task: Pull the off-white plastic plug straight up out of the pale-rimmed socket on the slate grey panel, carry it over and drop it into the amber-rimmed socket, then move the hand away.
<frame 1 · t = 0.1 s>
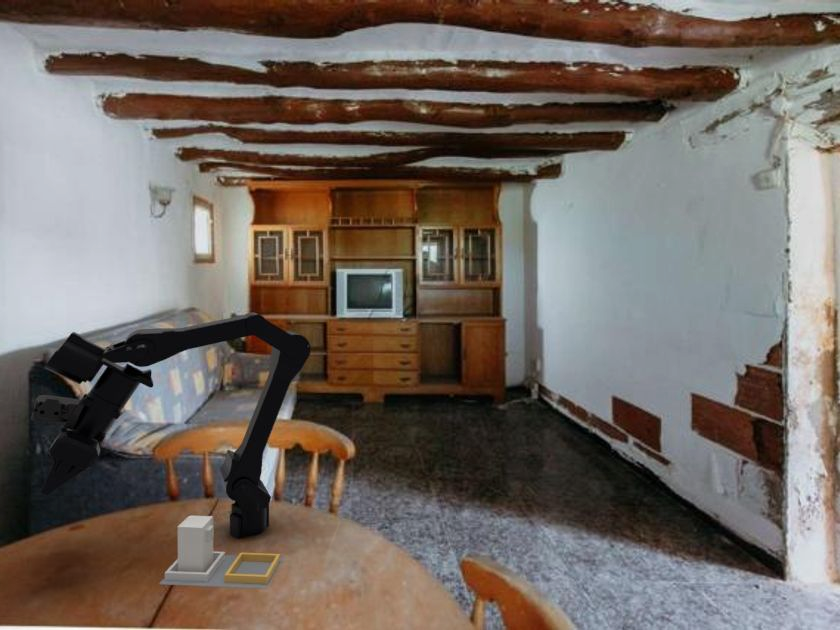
hand: (48, 483, 84), 15 cm above the table, tool tilted 35°, fingers open, 9 cm apart
plug: (196, 569, 86), point 1 cm above the table, touching socket panel
socket panel: (224, 573, 86), on the table
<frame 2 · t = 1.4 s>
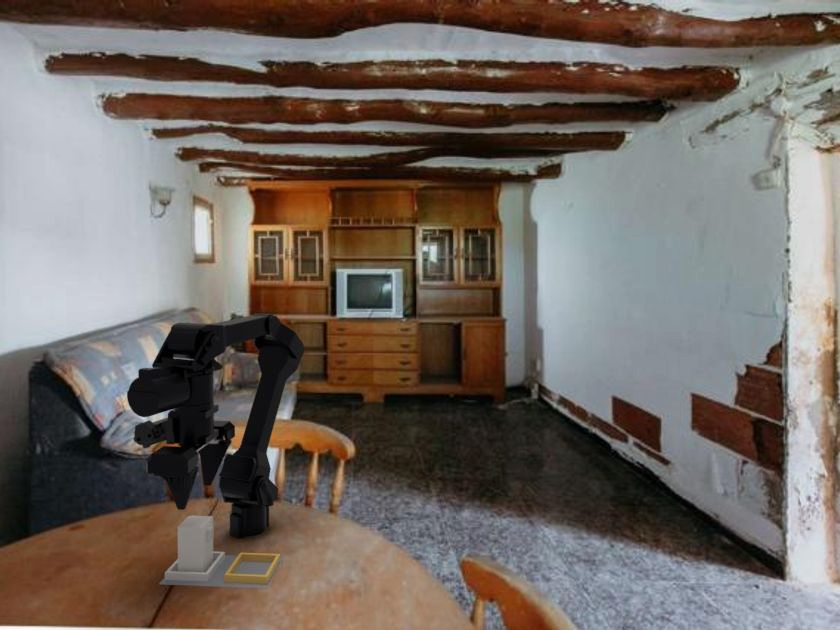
hand: (195, 496, 85), 13 cm above the table, tool pointing down, fingers open, 9 cm apart
nothing on the table moved.
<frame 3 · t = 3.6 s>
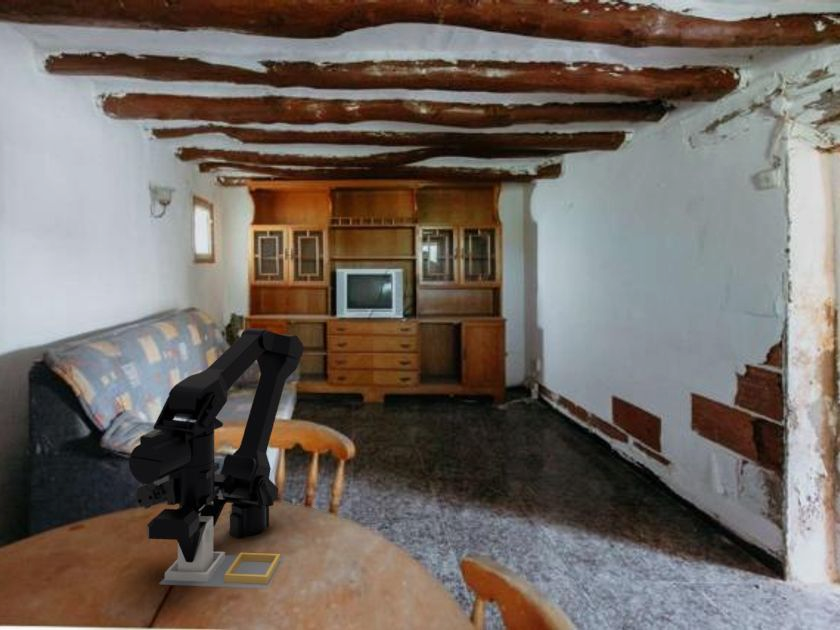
hand: (196, 554, 86), 3 cm above the table, tool pointing down, fingers closed on plug, 4 cm apart
plug: (196, 568, 86), point 1 cm above the table, touching gripper, socket panel
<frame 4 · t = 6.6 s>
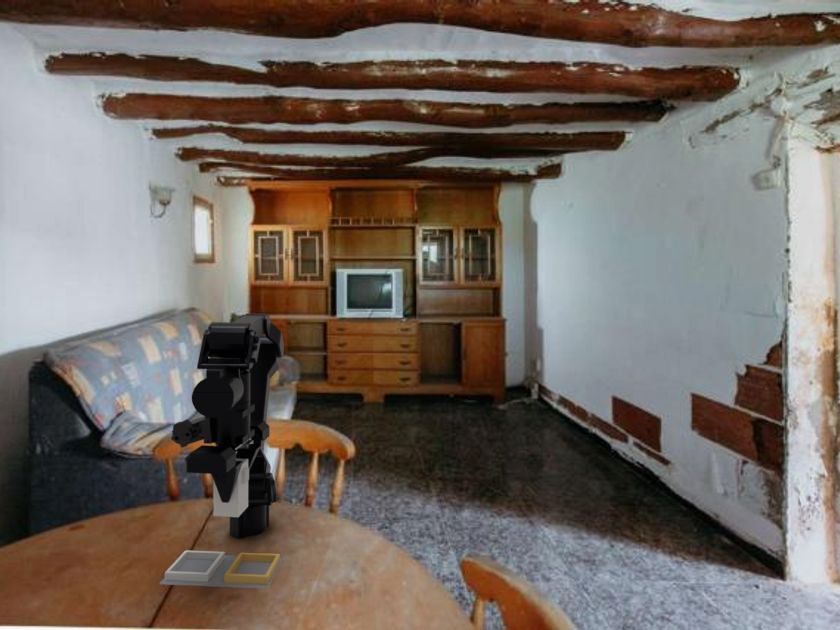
hand: (231, 496, 85), 13 cm above the table, tool pointing down, fingers closed on plug, 4 cm apart
plug: (231, 511, 85), point 11 cm above the table, touching gripper
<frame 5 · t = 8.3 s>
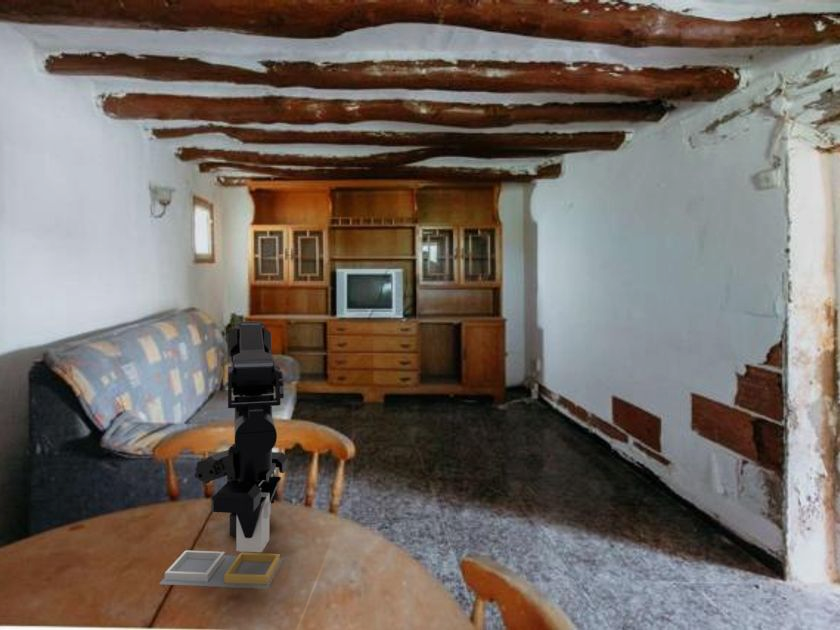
hand: (253, 531, 85), 7 cm above the table, tool pointing down, fingers closed on plug, 4 cm apart
plug: (253, 545, 85), point 5 cm above the table, touching gripper
when the fingers open (4 cm above the table, at t = 9.9 s): plug stays where it is, resting on socket panel.
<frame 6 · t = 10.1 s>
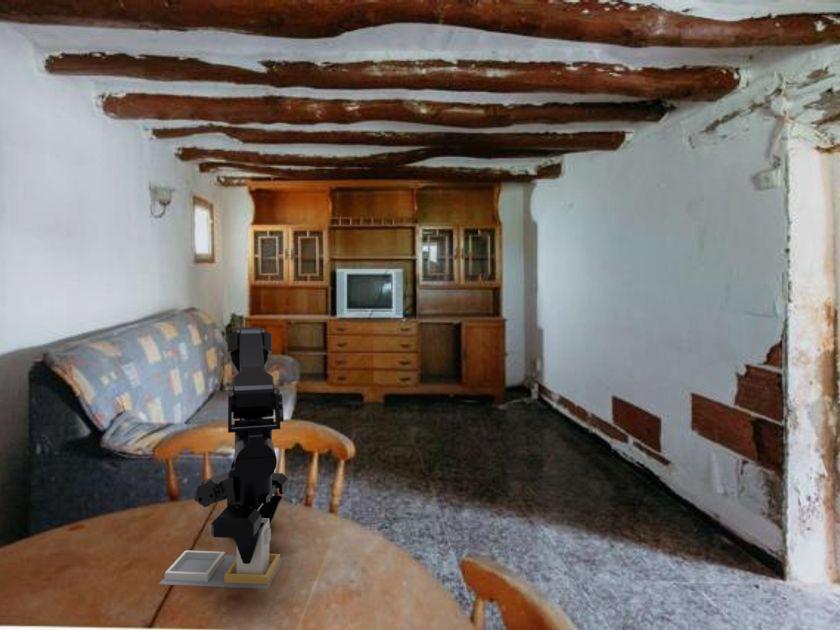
hand: (253, 553, 85), 4 cm above the table, tool pointing down, fingers open, 6 cm apart
plug: (253, 571, 86), point 1 cm above the table, touching socket panel
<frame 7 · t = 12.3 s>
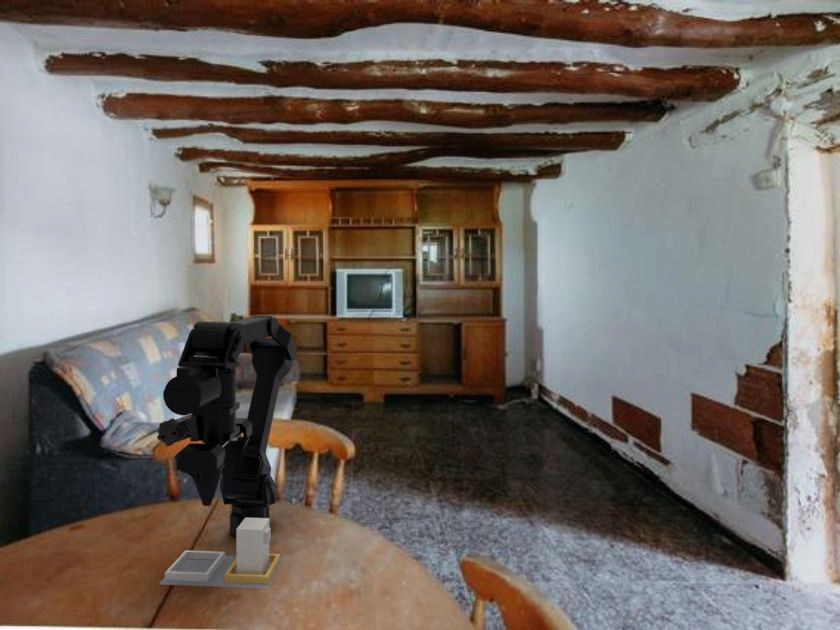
hand: (217, 493, 86), 13 cm above the table, tool pointing down, fingers open, 9 cm apart
nothing on the table moved.
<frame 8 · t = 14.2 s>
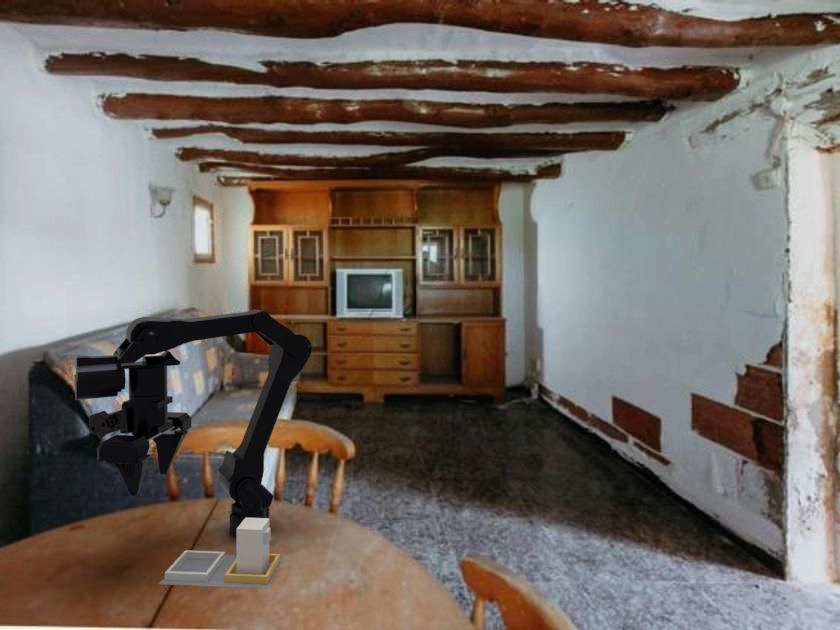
hand: (149, 484, 89), 13 cm above the table, tool pointing down, fingers open, 9 cm apart
nothing on the table moved.
at the end: plug 0.0 cm from the target spot, point 0.6 cm above the table; plug tilted 0°; the gripper is holding nothing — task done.
